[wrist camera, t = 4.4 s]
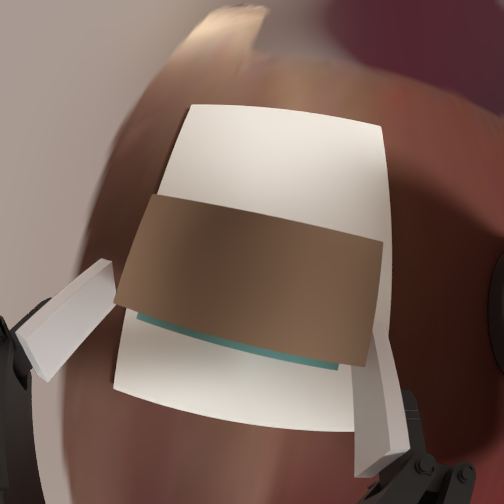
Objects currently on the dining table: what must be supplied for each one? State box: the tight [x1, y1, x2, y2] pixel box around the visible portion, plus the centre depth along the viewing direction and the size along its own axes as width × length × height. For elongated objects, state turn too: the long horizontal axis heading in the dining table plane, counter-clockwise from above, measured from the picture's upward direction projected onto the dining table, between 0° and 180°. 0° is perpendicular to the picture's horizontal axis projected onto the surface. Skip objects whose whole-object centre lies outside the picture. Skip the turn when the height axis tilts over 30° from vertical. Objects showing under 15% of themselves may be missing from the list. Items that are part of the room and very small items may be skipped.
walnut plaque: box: [113, 194, 383, 371], centre depth 14 cm, size 8×4×12 cm, turn 76°
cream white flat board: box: [113, 105, 392, 432], centre depth 22 cm, size 28×20×1 cm
